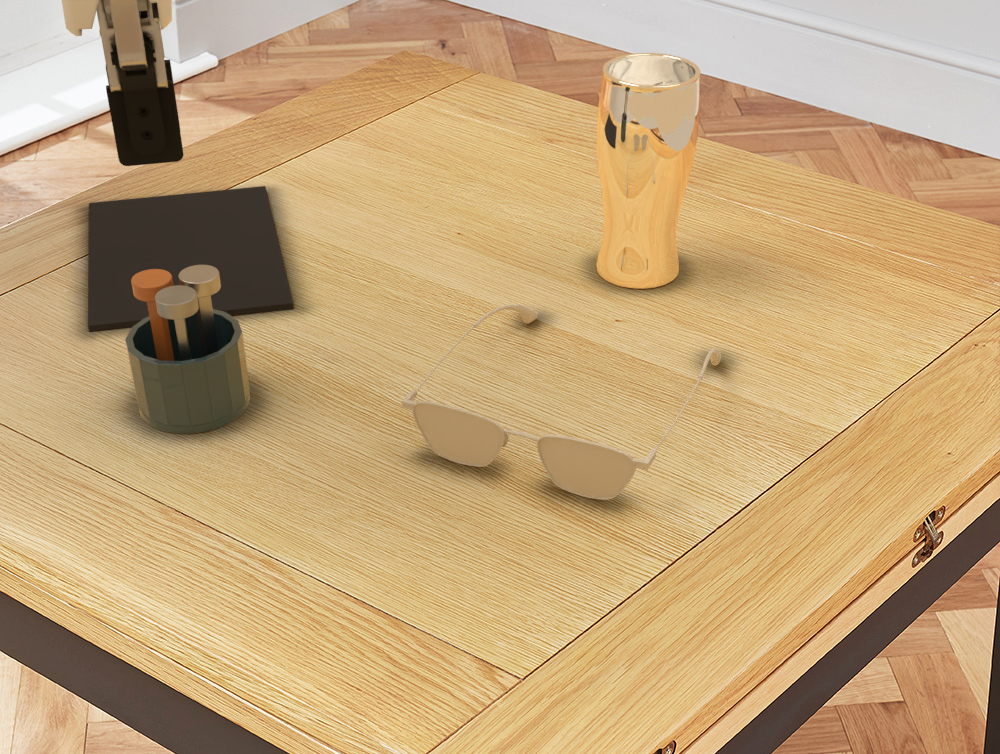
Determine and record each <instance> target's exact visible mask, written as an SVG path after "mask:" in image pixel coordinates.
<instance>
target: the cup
mask: <svg viewBox="0 0 1000 754" xmlns="http://www.w3.org/2000/svg"><path fill="white" fill-rule="evenodd" d="M213 315H214V322H215V329H216V336H217V343H218V350H219V351H217V352H215V353H212V354H210V355H207V356H205V357H203V355H202V349H201V342H200V336H199V329H198V323H197V316H196V313H195V314H194V315H192V316H190V317H188V318H185V321H186V327H187V333H188V340H189V346H190V352H191V358H192V359H191V360H185V361H181V359H180V353H179V347H178V341H177V335H176V329H175V323H174V320H171V319H167V320H168V326H169V332H170V338H171V344H172V350H173V356H174V361H164V360H158V359H157V356H156V350H155V345H154V339H153V334H152V328H151V322H150V317H149V316H148V317H146V318H144V319H143V320H141V321H140V322H138V323H137V324H136V325H134V326H133V327H130V330H129V331H128V333H127V335H126V337H125V339H124V340H125V345H126V346H125V347H126V351H127V356H128V361H129V366H130V372H131V377H132V383H133V389H134V392H135V398H136V403H137V408H138V412H139V416H140V417H141V419H142V420H143V421H144V422H145V424H147V425H149V426H150V427H151V428H154V429H156V430H159V431H162V432H165V433H169V434H179V435H190V434H200V433H206V432H210V431H214V430H218V429H220V428H222V427H226V426H227V425H230V424H232V423H233V422H235V421H236V420H237V419H238V418H240V417H241V416H243V414H244V413H245V412H246V410H247V409H248V407H249V406H250V405H249V404H250V400H251V395H250V392H251V389H250V382H249V374H248V373H249V372H248V366H247V359H246V350H245V343H244V335H243V329H242V326H241V325H240V322H239V320H238V319H236V318H235V317H234V316H231V315H229V314H228V313H226V312H223V311H219V310H215V309H213Z"/></svg>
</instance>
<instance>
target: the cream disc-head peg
mask: <svg viewBox="0 0 1000 754" xmlns="http://www.w3.org/2000/svg"><path fill="white" fill-rule="evenodd" d="M155 301H156V307H157V313H158V314H159V315H160V316H161V317H163V318H165V319H171V320H174V323H175V329H176V335H177V341H178V347H179V353H180V359H181V361H185V360H191V359H192V358H191V352H190V346H189V340H188V333H187V327H186V321H185V318H188V317H190V316H192V315H194V314H195V313H196V312H197V311H198V309H199V306H198V299H197V293H196V291H195V290H194V289H193V288H191V287H188V286H182V285H177V286H170V287H166V288H164V289H162V290H160V291H158V292H157V293H156V295H155Z"/></svg>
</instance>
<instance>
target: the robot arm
mask: <svg viewBox="0 0 1000 754" xmlns="http://www.w3.org/2000/svg"><path fill="white" fill-rule="evenodd" d="M172 2H173V1H172V0H61V5H62V10H63V11H62V12H63V17H64V24H65V28H66V30H67V31H68V32H70V33H71V35H73V36H75V37H82V35H83V30H92V29H93V27H94V22H95V18H96V15H97V21H98V26H99V27H98V28H99V31H98V32H99V36H100V38H101V44H102V49H103V56H104V61H105V71H106V77H107V82H108V84H107V85H105V90H106V91H105V92H106V96H107V102H108V107H109V108H108V109H109V113H110V118H111V124H112V130H113V136H114V141H115V142H114V143H115V147H116V152H117V158H118V161H119V163H120V164H121V165H122V166H124V167H133V166H144V165H157V164H167V163H177V162H180V161H182V159H184V148H183V141H182V134H181V124H180V118H179V112H178V106H177V98H176V92H175V84H174V79H173V78H174V77H173V72H172V63H171V59H165V57H166V56H165V49H164V42H163V36H162V31H163V30H164V29H165V28H167V27H168V26H169V25H170V23H171V22H172V21H173V5H172Z"/></svg>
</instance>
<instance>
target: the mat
mask: <svg viewBox="0 0 1000 754" xmlns="http://www.w3.org/2000/svg"><path fill="white" fill-rule="evenodd" d="M87 262H88V266H87V267H88V269H87V270H88V271H87V273H88V274H87V276H88V278H87V286H88V287H87V294H88V295H87V329H88V332H90V333H91V332H101V331H109V330H119V329H127V328H132V327H133V326H134V325H136V324H137V323H138V322H140V321H141V320H143V319H144V318H146V317H148V316H149V311H148V305H147V302H145V301H141V300H138V299H137V298H135V296H134V294H133V289H132V283H131V279H132V277H133V276H134V275H135V274H137V273H139V272H141V271H144V270H149V269H162V270H166V271H168V272H169V273H170V274H171V275H172V279H173V285H174V286H177V285H180V283H179V273H180V272H181V271H182V270H183V269H185V268H187V267H190V266H194V265H210V266H213V267H215V268H217V269H218V271H219V276H220V283H221V288H220V290H219V291H218V292H217V293H215V294H213V295H211V302H212V309H215V310H219V311H223V312H226V313H228V314H229V315H231V316H232V317H234V316H241V315H250V314H261V313H267V312H277V311H283V310H284V311H285V310H287V311H288V310H294V307H295V306H294V300H293V296H292V291H291V288H290V284H289V281H288V280H289V279H288V275H287V271H286V267H285V262H284V259H283V255H282V251H281V247H280V242H279V238H278V233H277V228H276V225H275V221H274V215H273V213H272V208H271V204H270V199H269V195H268V191H267V187H266V186H265V185H261V186H251V187H242V188H241V187H240V188H230V189H222V190H221V189H220V190H209V191H200V192H199V191H198V192H188V193H179V194H169V195H161V196H160V195H159V196H157V195H156V196H148V197H137V198H136V197H135V198H125V199H115V200H105V201H96V202H89V203H88V261H87Z"/></svg>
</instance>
